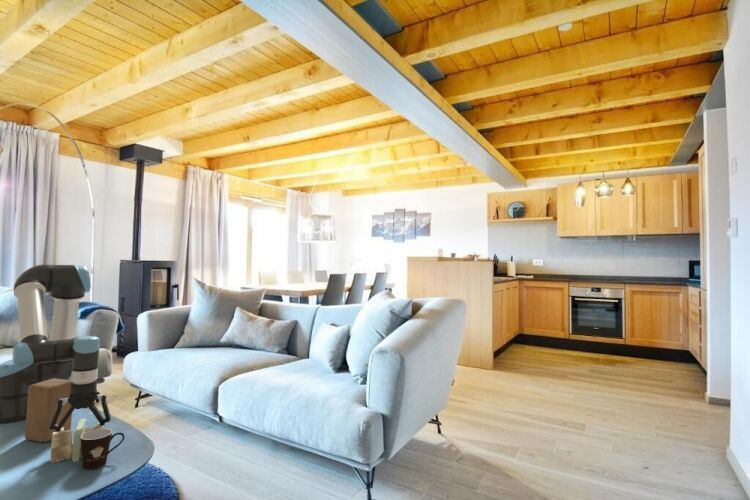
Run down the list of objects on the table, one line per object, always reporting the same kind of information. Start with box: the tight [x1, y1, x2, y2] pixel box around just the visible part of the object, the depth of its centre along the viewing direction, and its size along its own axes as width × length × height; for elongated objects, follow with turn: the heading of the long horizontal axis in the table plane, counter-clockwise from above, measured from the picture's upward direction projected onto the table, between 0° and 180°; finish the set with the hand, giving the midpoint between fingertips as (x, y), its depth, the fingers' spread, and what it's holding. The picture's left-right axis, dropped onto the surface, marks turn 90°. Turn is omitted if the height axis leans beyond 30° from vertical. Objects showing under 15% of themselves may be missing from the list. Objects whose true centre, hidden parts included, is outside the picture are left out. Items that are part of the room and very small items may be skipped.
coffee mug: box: [80, 427, 126, 471], centre depth 130 cm, size 12×9×10 cm
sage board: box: [71, 418, 87, 462], centre depth 137 cm, size 14×2×9 cm, turn 30°
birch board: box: [49, 424, 105, 464], centre depth 134 cm, size 14×4×9 cm, turn 120°
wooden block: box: [24, 378, 73, 443], centre depth 148 cm, size 10×10×20 cm
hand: (79, 445), depth 138 cm, fingers open, 10 cm apart
